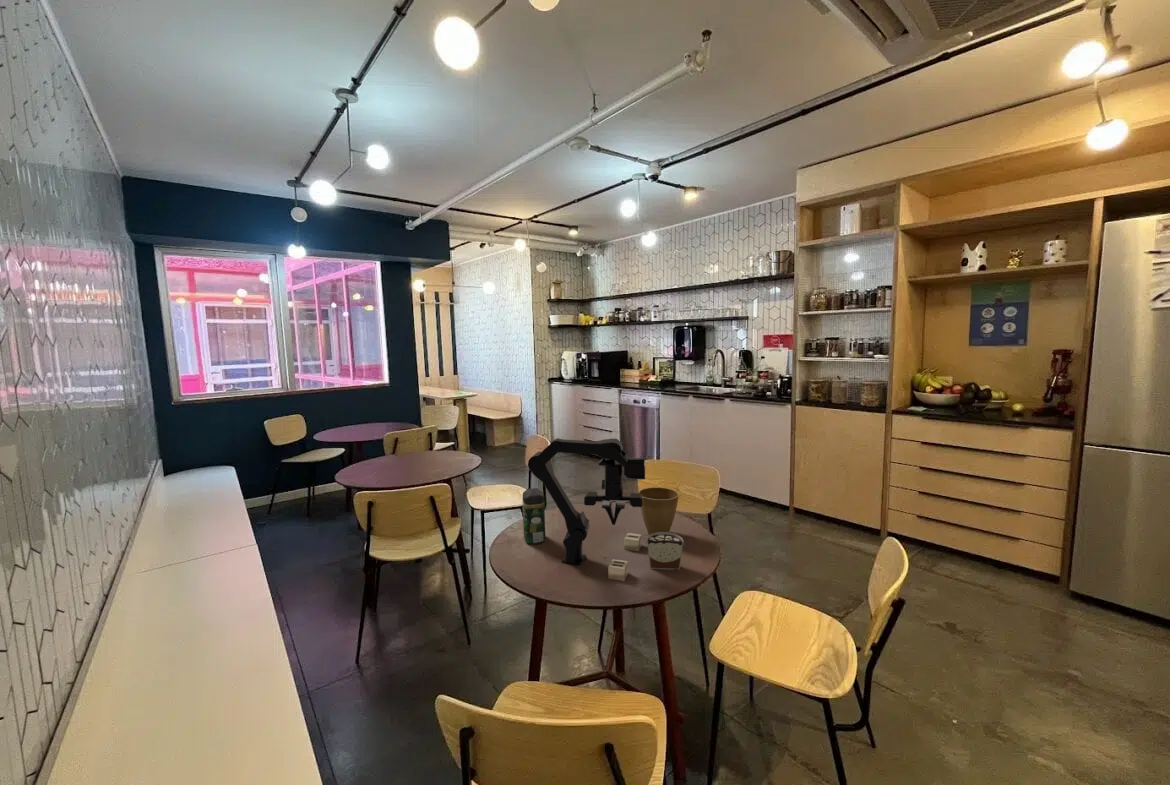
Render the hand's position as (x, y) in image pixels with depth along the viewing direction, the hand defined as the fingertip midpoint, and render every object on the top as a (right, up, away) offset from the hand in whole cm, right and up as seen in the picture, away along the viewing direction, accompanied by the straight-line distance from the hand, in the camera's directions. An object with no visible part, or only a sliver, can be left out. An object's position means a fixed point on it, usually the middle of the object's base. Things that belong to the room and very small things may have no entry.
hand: (613, 524), depth 154 cm
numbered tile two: (+1, -14, -7) cm, 16 cm away
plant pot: (+18, -10, +23) cm, 31 cm away
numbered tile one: (+8, -12, +13) cm, 19 cm away
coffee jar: (-28, -11, +20) cm, 36 cm away
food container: (+16, -13, 0) cm, 21 cm away
